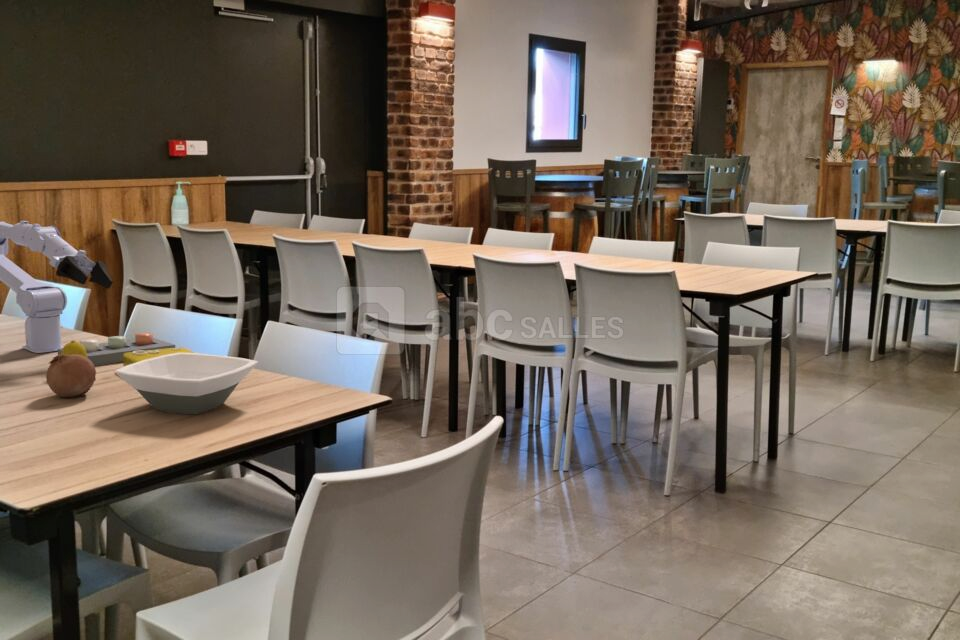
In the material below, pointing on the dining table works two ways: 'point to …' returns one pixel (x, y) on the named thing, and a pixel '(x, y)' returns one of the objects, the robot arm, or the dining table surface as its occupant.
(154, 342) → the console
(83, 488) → the dining table surface
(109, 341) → the button sage
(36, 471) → the dining table surface
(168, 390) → the bowl
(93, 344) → the button ivory
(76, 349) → the lemon
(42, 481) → the dining table surface
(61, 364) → the onion
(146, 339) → the button terracotta
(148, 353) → the element tile
